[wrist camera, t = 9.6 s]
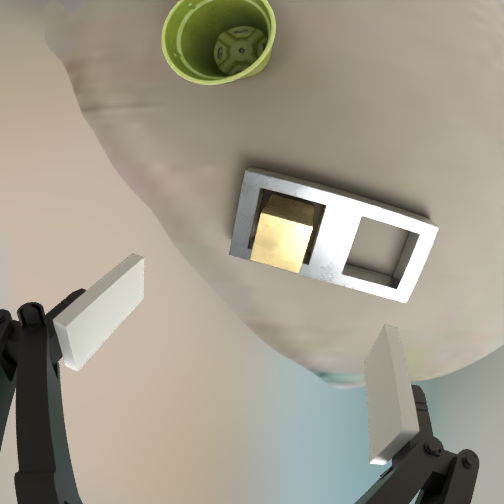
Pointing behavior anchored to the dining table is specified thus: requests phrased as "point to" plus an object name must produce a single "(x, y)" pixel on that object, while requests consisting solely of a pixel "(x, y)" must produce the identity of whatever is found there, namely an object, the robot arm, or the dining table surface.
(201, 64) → the plant pot
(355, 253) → the dining table surface
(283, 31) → the dining table surface
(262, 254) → the yellow rectangular block
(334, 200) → the grey double window frame
